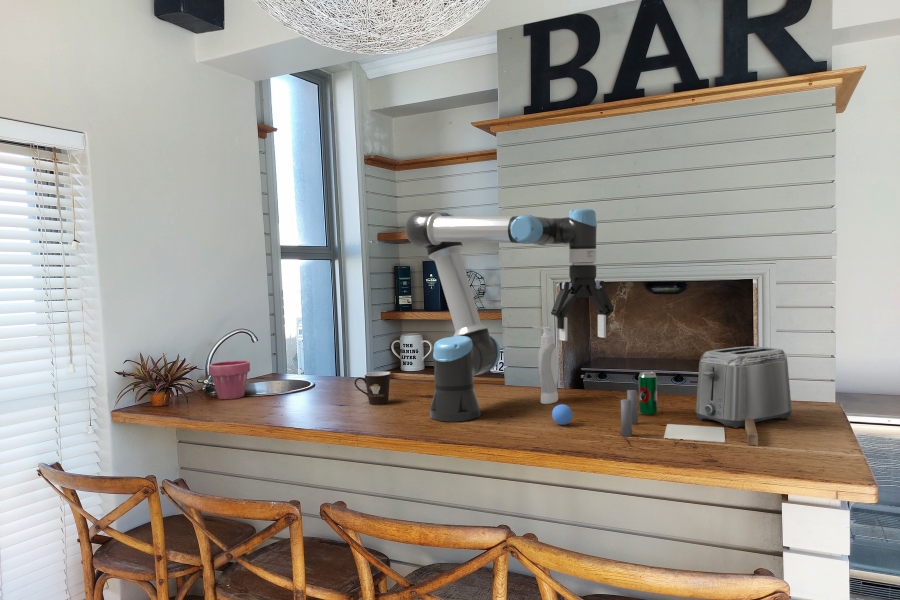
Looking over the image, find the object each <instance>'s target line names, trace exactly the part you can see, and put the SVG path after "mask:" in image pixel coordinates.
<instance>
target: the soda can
mask: <svg viewBox="0 0 900 600" xmlns="http://www.w3.org/2000/svg"><path fill="white" fill-rule="evenodd" d="M637 378H638V408H639V409H638V412H639V413H640V414H641V415H644V416H655V415H656V414H658V385H657V383H658V380H657V378H658V376H657V375H656V372H655V371H640V372H639V375H638V377H637Z"/></svg>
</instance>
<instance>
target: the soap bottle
mask: <svg viewBox="0 0 900 600" xmlns="http://www.w3.org/2000/svg"><path fill="white" fill-rule="evenodd" d="M531 328H532V329H534V330H535V329H537V330H538V329H539V330H542V331H543V332H544V333H542V335H541V336H540V347H539V349H538V354H537V366H538V375H539V377H538V378H539V381H540V389H541V391H540V403H541V404H543V405H551V404H554V403H557V402H558V401H559V395H558V394H559V393H558V389H557V387H558V386H557V385H558V379H559V353H558V349H557V346H556V344H555V343H556V342H555V335H554V334H553V332H552V331H551V328H552V327H551V326H532V327H531Z"/></svg>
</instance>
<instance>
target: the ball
mask: <svg viewBox="0 0 900 600" xmlns="http://www.w3.org/2000/svg"><path fill="white" fill-rule="evenodd" d="M573 416H574V415H573V411H572V409H571V408H570V407H569V406H568V405H566V404H562V403H561V404H558V405H556V406H554V408H553V409H552V411H551V417H552V419H553V421H554V422H555V423H556V424H557V425H561V426H565V425H568V424H569V423H570V422H571V421H572V420H573Z"/></svg>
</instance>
